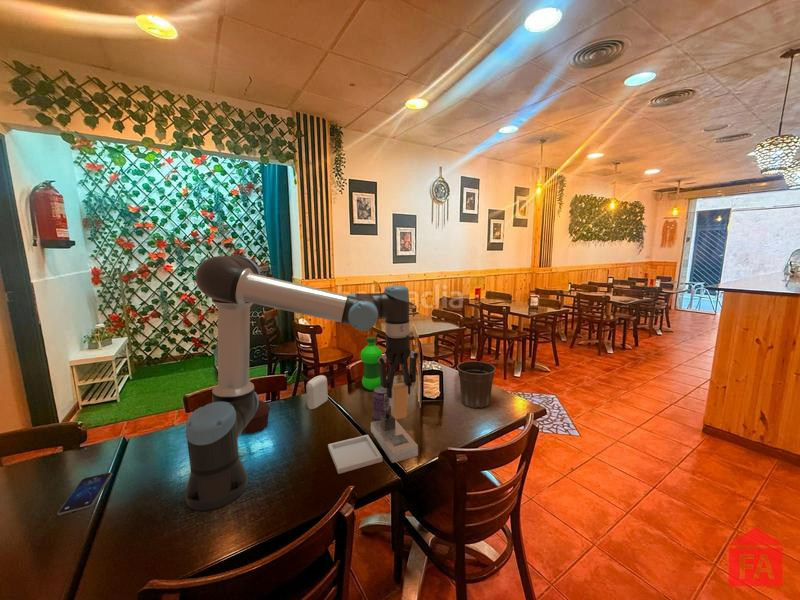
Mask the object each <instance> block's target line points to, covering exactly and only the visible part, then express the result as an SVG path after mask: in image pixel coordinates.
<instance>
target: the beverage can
mask: <svg viewBox="0 0 800 600" xmlns="http://www.w3.org/2000/svg"><path fill="white" fill-rule="evenodd" d="M386 409H390V413H391V406H390V405H389V398H388V397H387V388H383V387H382V386H380V387H377V388H375V389H374V390H373V393H372V416H373V420H375V421H379V420H381V416H380V415H382V414H386Z"/></svg>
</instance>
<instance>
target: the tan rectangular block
mask: <svg viewBox="0 0 800 600" xmlns="http://www.w3.org/2000/svg"><path fill="white" fill-rule="evenodd" d="M392 387H393V388H394V391H395V408H394V409H393V408H392V407H391V415H392V416H393V417H394V418H395V419H396V420H400V419H404V418H407V417H408V405H407V387H406V386H404V385H403V382H401V383H393V386H392Z"/></svg>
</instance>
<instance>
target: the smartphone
mask: <svg viewBox="0 0 800 600" xmlns="http://www.w3.org/2000/svg"><path fill="white" fill-rule="evenodd" d="M112 476H113V472H110V471H109V472H106V473H101V474H95V475H92V476H88V477H84V478H83V479H81V480H80V482H79V483H78V484H77V486H76V487H75V488H74V490H72V492H71V494H70V495H69V496H68V498H67V499H66V501H64V503H63V505H62V506H61V507H60V509H59V510H58V512H57V513H56V516H58V517H60V516H61V517H62V516H64V515H69V514H72V513H74V512H76V513H77V512H81V511H84V510H88V509H91V508H92V507H94V505H95V504H96V502H97V501H98V499H99V497H100V495H101V494H102V493H103V492H104V489H105V488H106V487H107V484H108V483H109V482H110V480H111V478H112Z"/></svg>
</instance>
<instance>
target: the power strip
mask: <svg viewBox="0 0 800 600" xmlns="http://www.w3.org/2000/svg"><path fill="white" fill-rule="evenodd" d="M380 416H381V420H379V421H377V420H375V421H371V422H370V432H371V433H372V435H373V437H374V438H375V439H376V441H377V443H378V444H379V446H380V447H381V449H382V451H384V453H385V455H386V456H387V457H388V459H389V461H390V462H391V464H393V463H397V462H401V461H404V460H407V459H411V458H412V459H413V458H415V457H418V456H419V445H418V444H417V442H415V440H414V438H413V437H412V436H411V435H410V434H409V433H407V431H406V429H404V427H403V426H402V425H401V424H400V423H399V422H398V421H397V419H395V418H394V417H393V416H392V415H391V413H390V409H386V414H382V415H380Z"/></svg>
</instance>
